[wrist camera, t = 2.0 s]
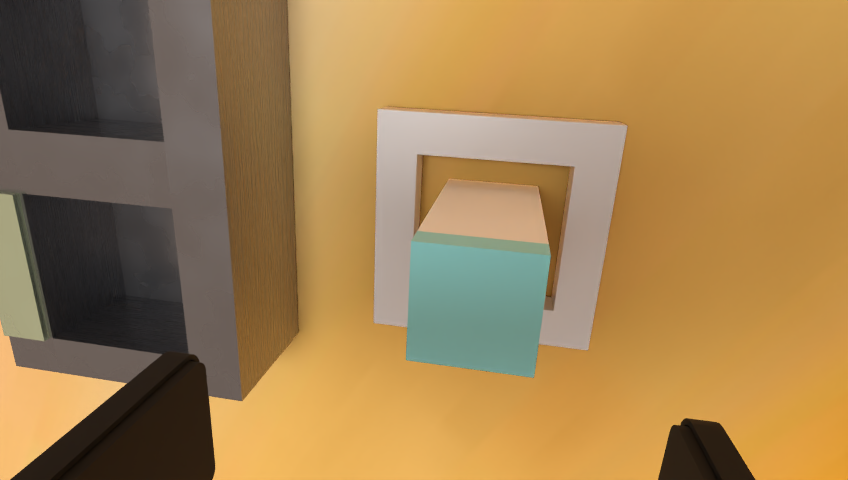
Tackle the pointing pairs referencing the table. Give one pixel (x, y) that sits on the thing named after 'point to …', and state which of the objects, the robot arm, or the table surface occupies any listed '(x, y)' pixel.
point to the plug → (479, 278)
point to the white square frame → (502, 141)
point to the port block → (147, 186)
